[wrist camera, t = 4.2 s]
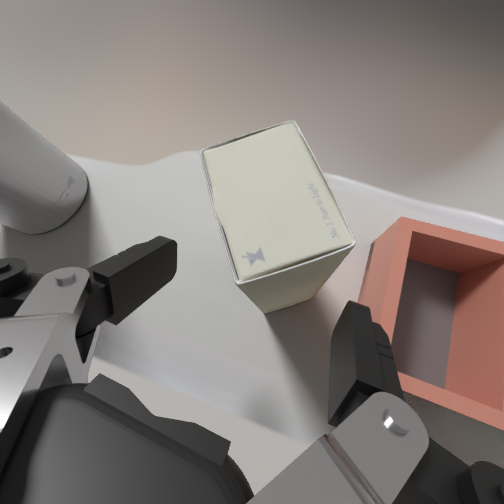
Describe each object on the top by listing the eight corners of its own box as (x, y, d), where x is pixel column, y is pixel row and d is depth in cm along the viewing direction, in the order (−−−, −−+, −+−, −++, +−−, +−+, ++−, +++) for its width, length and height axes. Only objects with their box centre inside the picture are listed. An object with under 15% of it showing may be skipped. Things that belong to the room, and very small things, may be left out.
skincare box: (313, 299, 19) (368, 251, 7) (261, 315, 19) (234, 293, 7) (287, 232, 21) (299, 113, 9) (240, 246, 21) (196, 146, 9)
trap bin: (343, 363, 17) (368, 376, 12) (371, 243, 20) (401, 216, 15) (447, 404, 16) (521, 437, 11) (463, 269, 18) (528, 248, 14)
